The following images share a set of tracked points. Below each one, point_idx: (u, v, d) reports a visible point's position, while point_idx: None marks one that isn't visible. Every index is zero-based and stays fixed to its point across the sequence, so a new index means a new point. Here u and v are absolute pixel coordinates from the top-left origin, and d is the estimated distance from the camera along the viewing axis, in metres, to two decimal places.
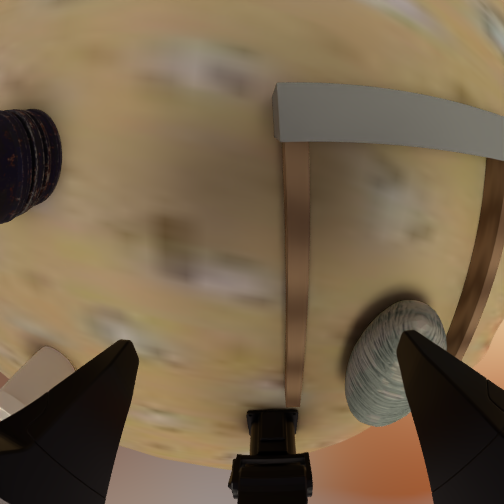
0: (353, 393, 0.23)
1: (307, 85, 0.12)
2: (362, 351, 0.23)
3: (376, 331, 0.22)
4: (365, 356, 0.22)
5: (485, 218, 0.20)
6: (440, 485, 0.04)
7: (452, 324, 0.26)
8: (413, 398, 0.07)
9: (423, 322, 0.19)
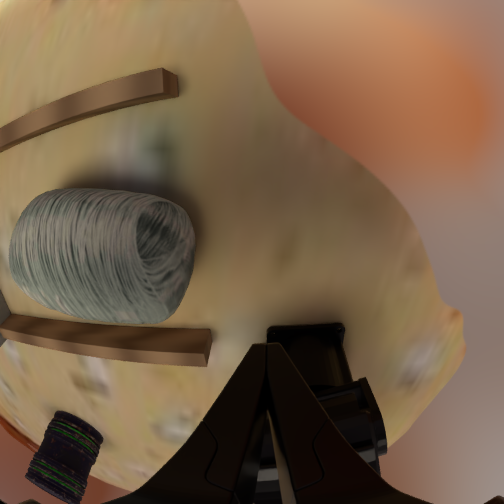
0: None
1: None
2: None
3: None
4: None
5: None
6: None
7: None
8: (269, 417, 0.07)
9: None
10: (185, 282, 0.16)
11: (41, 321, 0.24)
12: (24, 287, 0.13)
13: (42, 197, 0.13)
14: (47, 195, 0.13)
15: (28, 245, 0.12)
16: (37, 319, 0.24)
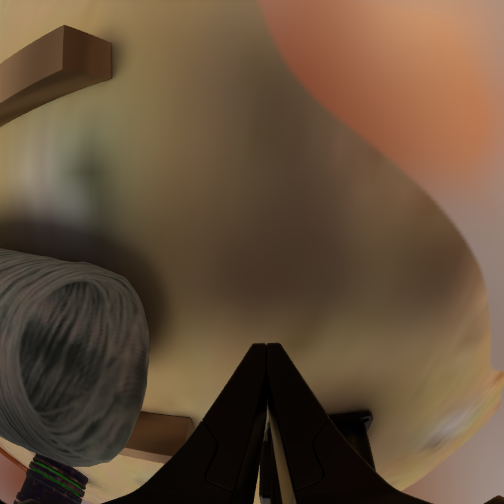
0: None
1: None
2: None
3: None
4: None
5: None
6: None
7: None
8: (269, 417, 0.07)
9: None
10: (131, 419, 0.08)
11: None
12: None
13: None
14: None
15: None
16: None
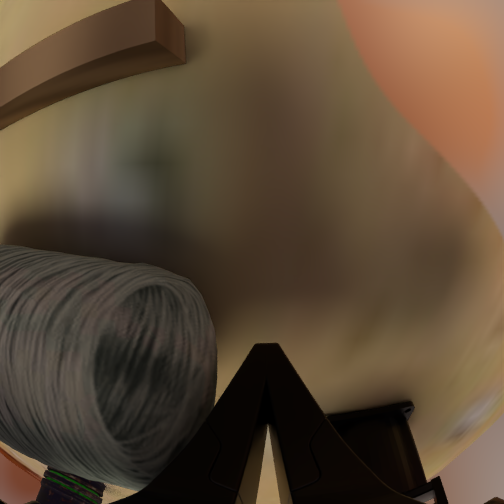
0: None
1: None
2: None
3: None
4: None
5: None
6: None
7: (29, 113, 0.08)
8: (267, 417, 0.07)
9: None
10: None
11: None
12: None
13: None
14: None
15: None
16: None
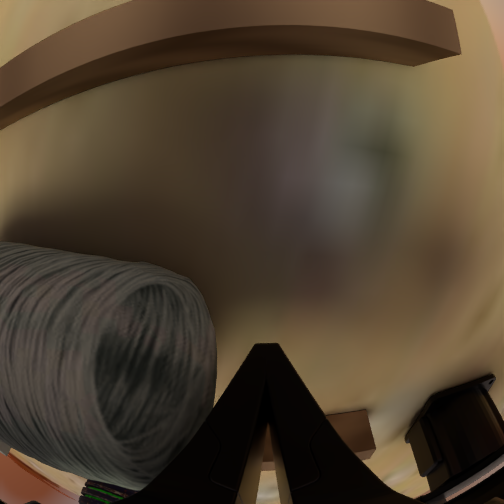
0: None
1: None
2: None
3: None
4: None
5: None
6: None
7: (210, 58, 0.08)
8: (267, 417, 0.07)
9: None
10: None
11: None
12: None
13: None
14: None
15: None
16: None
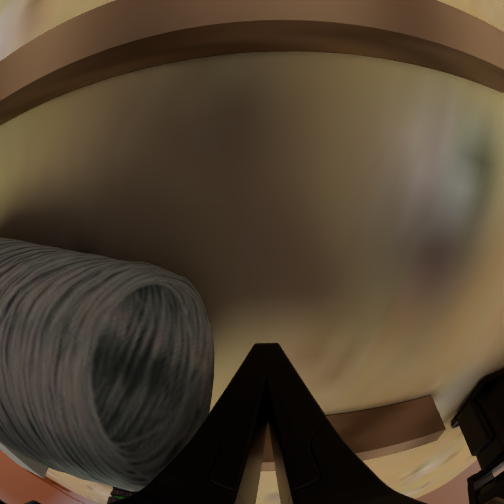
0: None
1: None
2: None
3: None
4: None
5: (17, 110, 0.07)
6: None
7: (363, 54, 0.07)
8: (268, 417, 0.07)
9: None
10: None
11: None
12: None
13: None
14: None
15: None
16: None
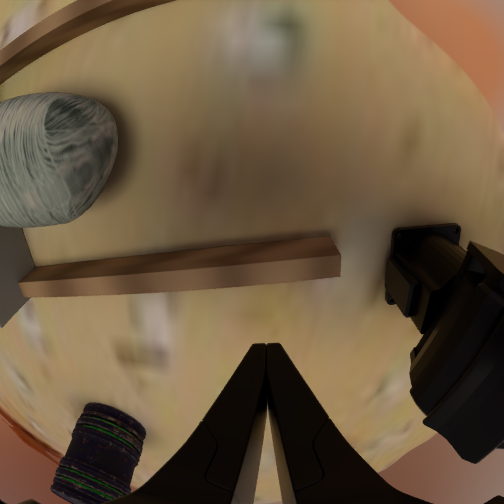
0: None
1: None
2: None
3: None
4: None
5: (35, 54, 0.13)
6: None
7: None
8: (269, 417, 0.07)
9: None
10: (93, 166, 0.13)
11: (82, 264, 0.20)
12: None
13: None
14: None
15: None
16: (76, 263, 0.21)
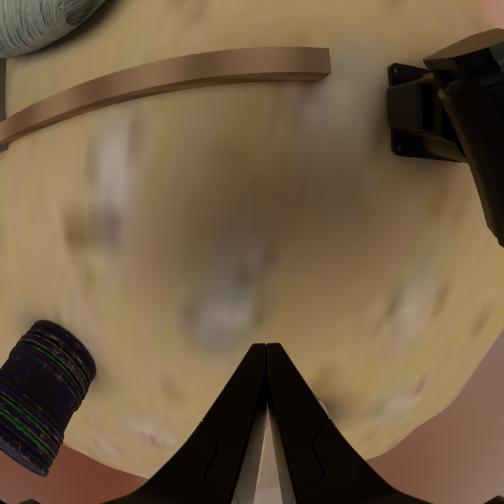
0: (27, 34, 0.09)
1: None
2: (1, 56, 0.10)
3: None
4: None
5: None
6: None
7: None
8: (269, 417, 0.07)
9: None
10: None
11: None
12: None
13: None
14: None
15: None
16: None
